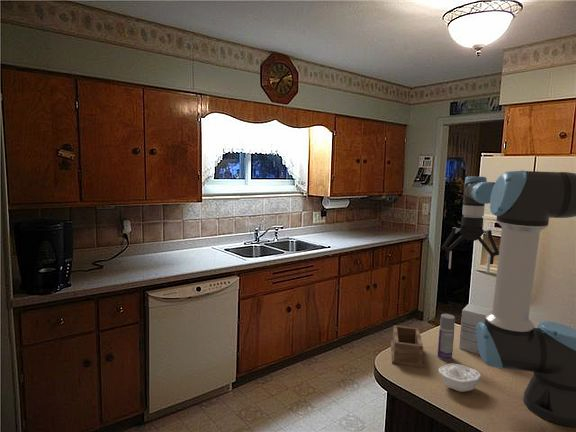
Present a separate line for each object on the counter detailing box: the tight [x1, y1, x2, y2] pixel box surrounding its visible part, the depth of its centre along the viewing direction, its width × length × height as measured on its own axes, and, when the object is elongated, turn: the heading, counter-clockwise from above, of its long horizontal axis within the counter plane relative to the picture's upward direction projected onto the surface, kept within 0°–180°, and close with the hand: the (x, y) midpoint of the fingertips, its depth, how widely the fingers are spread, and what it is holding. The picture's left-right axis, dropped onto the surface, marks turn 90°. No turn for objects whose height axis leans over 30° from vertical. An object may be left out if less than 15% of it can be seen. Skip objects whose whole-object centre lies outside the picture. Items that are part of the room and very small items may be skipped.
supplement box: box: [458, 303, 493, 355], centre depth 139 cm, size 9×9×15 cm
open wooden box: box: [390, 324, 425, 369], centre depth 133 cm, size 16×10×7 cm, turn 166°
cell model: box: [438, 363, 482, 393], centre depth 113 cm, size 10×12×7 cm
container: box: [437, 313, 456, 362], centre depth 131 cm, size 5×5×15 cm
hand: (468, 270), depth 149 cm, fingers open, 13 cm apart
